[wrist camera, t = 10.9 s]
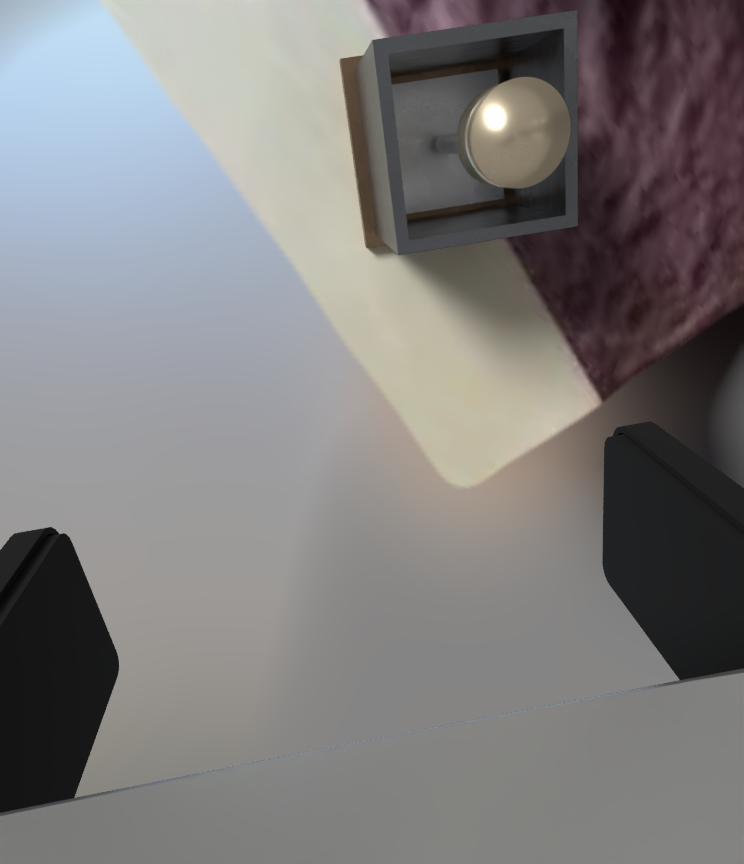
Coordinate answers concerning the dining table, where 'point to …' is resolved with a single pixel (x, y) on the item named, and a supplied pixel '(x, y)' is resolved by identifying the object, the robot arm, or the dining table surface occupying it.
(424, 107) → the plunger
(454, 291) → the dining table surface
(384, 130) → the press housing
